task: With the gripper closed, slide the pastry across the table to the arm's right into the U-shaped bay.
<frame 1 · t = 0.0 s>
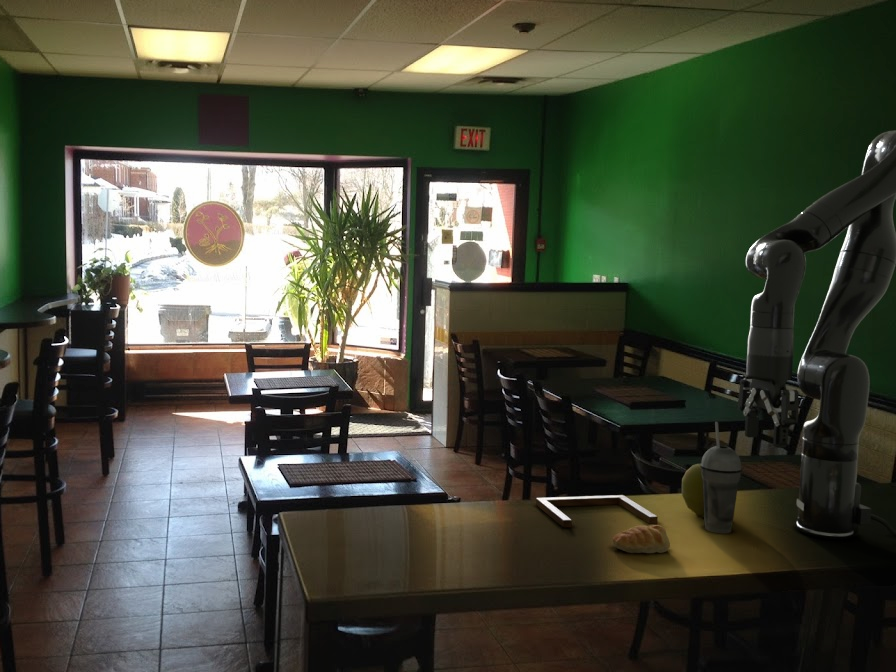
hand: (765, 441, 160), 17 cm above the table, tool pointing down, fingers open, 8 cm apart
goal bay: (596, 515, 172), on the table
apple: (706, 515, 174), on the table
beverage cup: (717, 530, 164), on the table
pastry: (642, 549, 153), on the table
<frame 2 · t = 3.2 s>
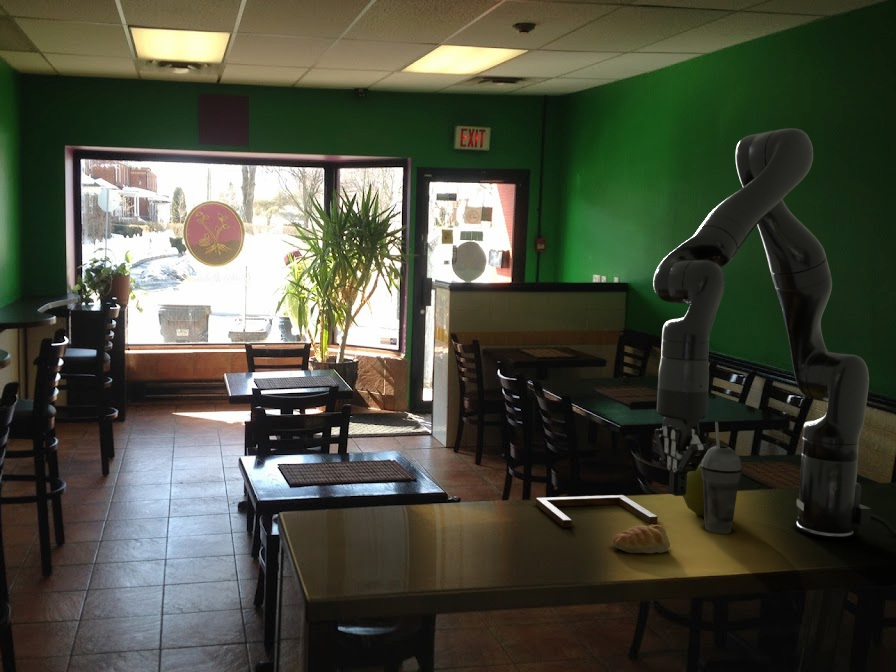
hand: (677, 494, 141), 13 cm above the table, tool pointing down, fingers closed
nothing on the table moved.
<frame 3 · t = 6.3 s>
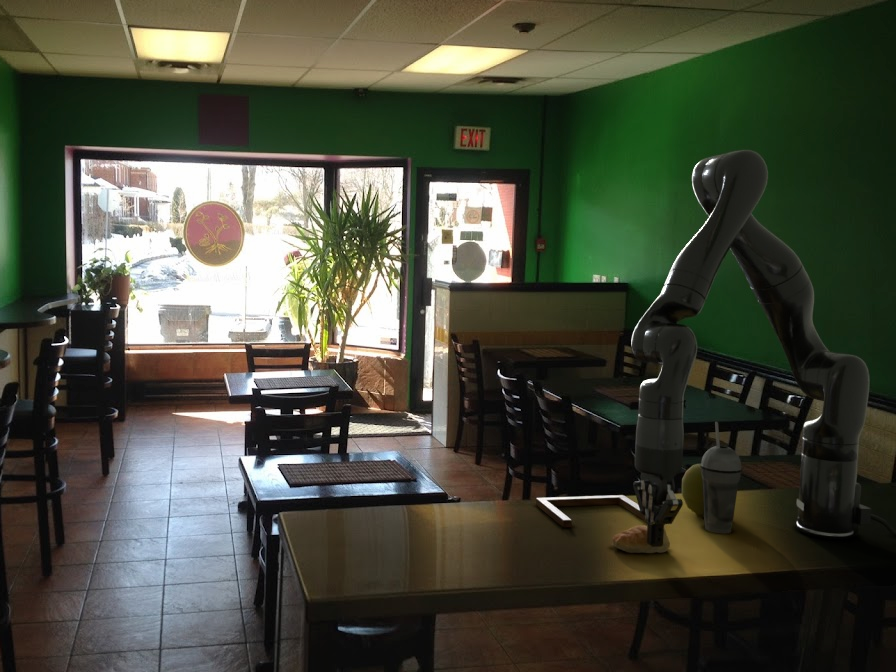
hand: (654, 545, 149), 2 cm above the table, tool pointing down, fingers closed
pastry: (642, 549, 153), on the table, touching gripper
everything else where it was.
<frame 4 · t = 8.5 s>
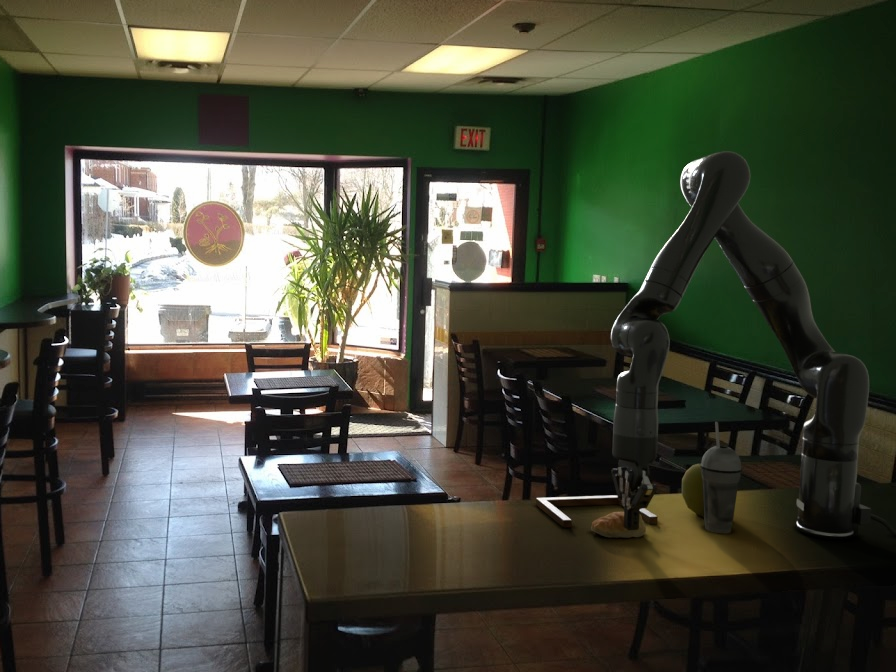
hand: (631, 528, 157), 2 cm above the table, tool pointing down, fingers closed
pastry: (619, 534, 161), on the table, touching gripper
everything else where it was.
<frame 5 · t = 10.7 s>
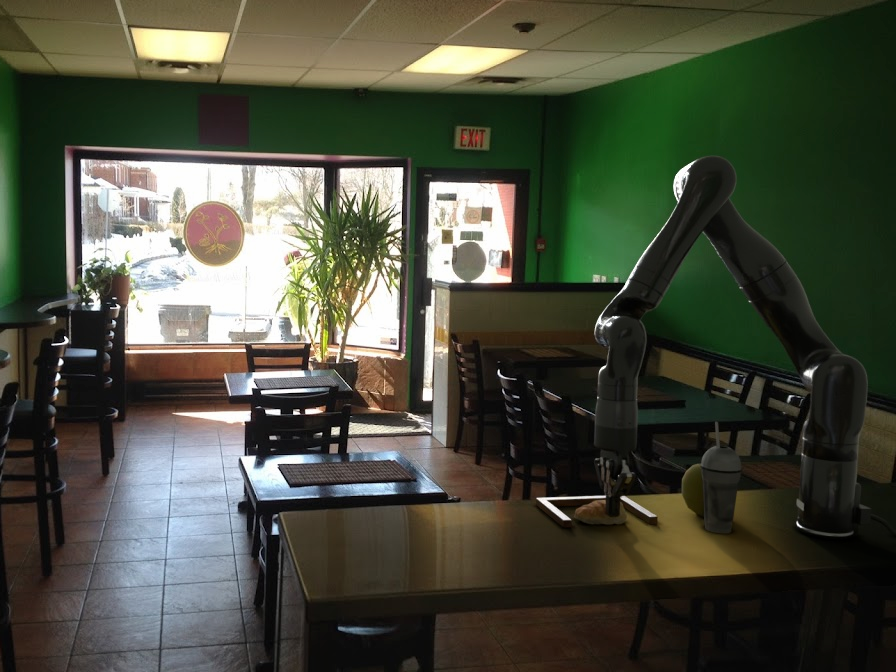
hand: (612, 515, 164), 2 cm above the table, tool pointing down, fingers closed
pastry: (601, 521, 168), on the table, touching gripper
everything else where it was.
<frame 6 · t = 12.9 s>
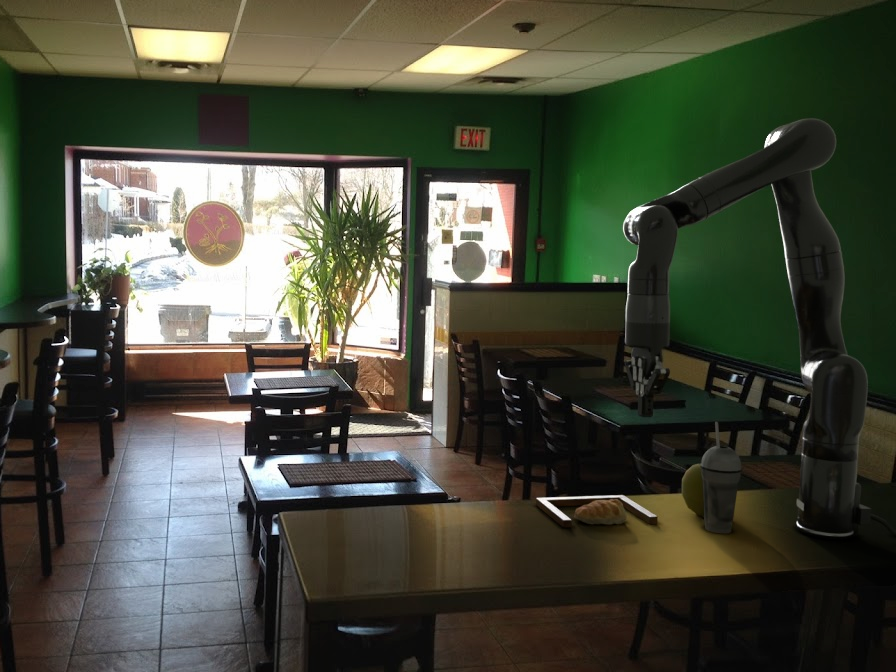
hand: (645, 416, 159), 21 cm above the table, tool pointing down, fingers closed
pastry: (601, 521, 168), on the table
everything else where it was.
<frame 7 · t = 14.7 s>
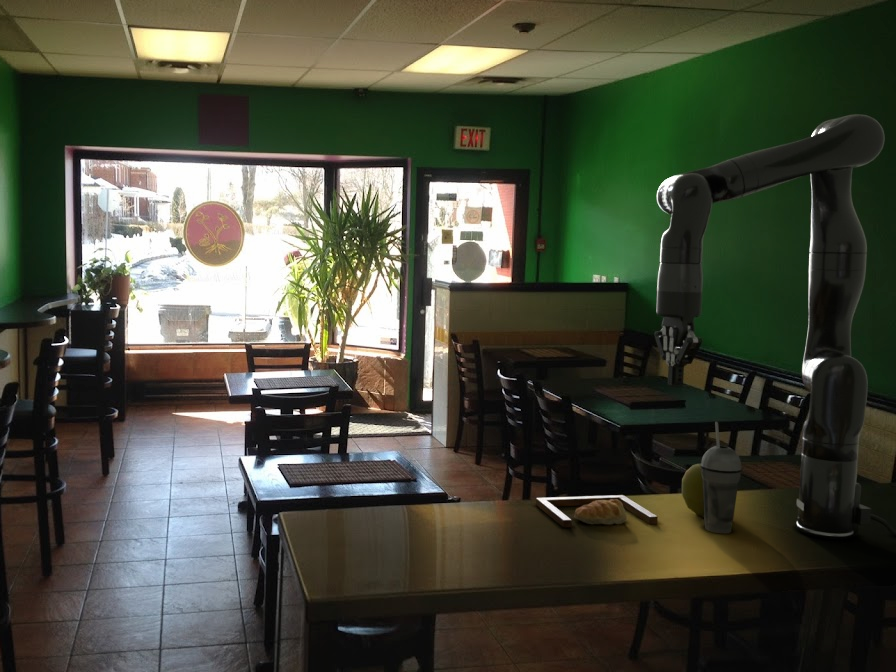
hand: (675, 386, 158), 27 cm above the table, tool pointing down, fingers closed
nothing on the table moved.
at the end: pastry inside the target area (2.8 cm from its centre), on the table; pastry moved 15.7 cm from its start; pastry tilted 0° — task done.
